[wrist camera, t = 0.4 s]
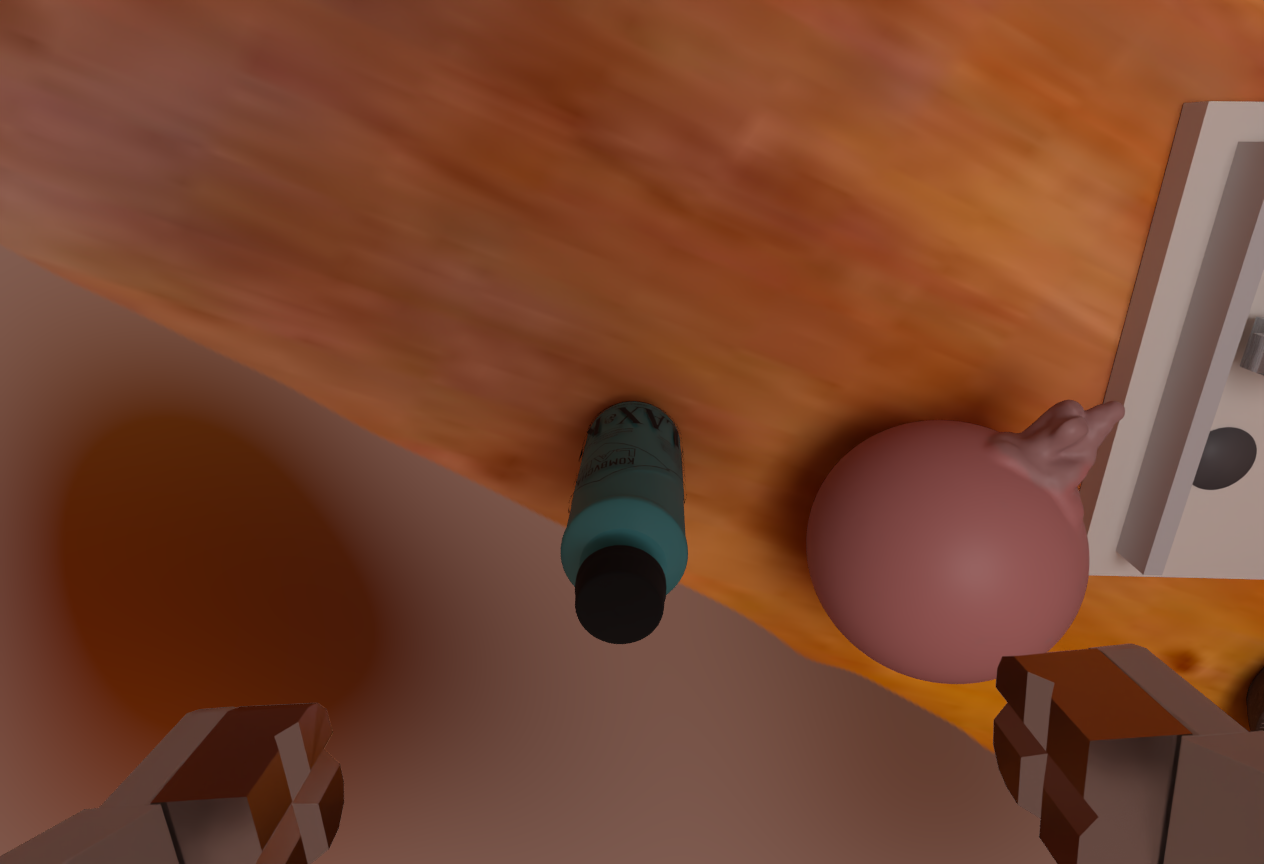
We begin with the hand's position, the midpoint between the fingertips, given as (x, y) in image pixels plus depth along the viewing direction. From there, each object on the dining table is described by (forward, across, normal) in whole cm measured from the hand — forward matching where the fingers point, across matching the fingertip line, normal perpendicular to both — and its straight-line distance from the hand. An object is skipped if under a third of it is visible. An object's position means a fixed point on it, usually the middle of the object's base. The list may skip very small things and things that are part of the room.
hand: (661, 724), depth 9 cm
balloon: (+40, -19, +12) cm, 46 cm away
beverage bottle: (+40, +1, +8) cm, 41 cm away
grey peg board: (+39, -37, +5) cm, 54 cm away
